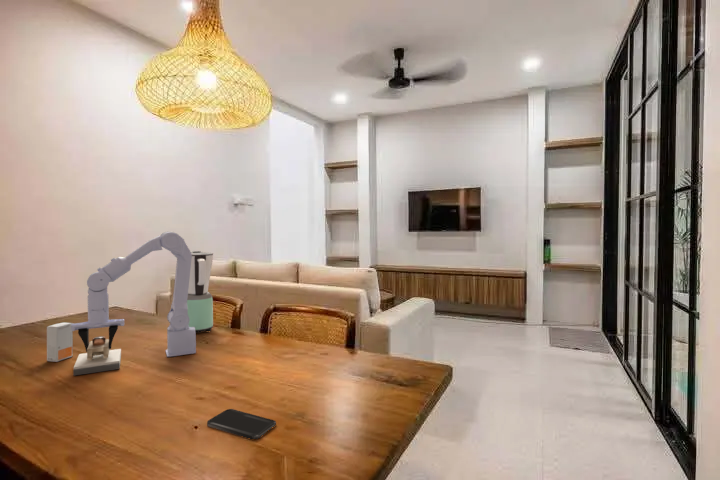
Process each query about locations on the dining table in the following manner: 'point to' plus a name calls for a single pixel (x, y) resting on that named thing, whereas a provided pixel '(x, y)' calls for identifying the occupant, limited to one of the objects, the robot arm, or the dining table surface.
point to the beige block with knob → (98, 350)
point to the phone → (241, 423)
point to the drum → (98, 341)
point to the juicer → (200, 292)
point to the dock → (97, 363)
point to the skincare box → (59, 342)
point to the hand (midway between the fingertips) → (98, 349)
